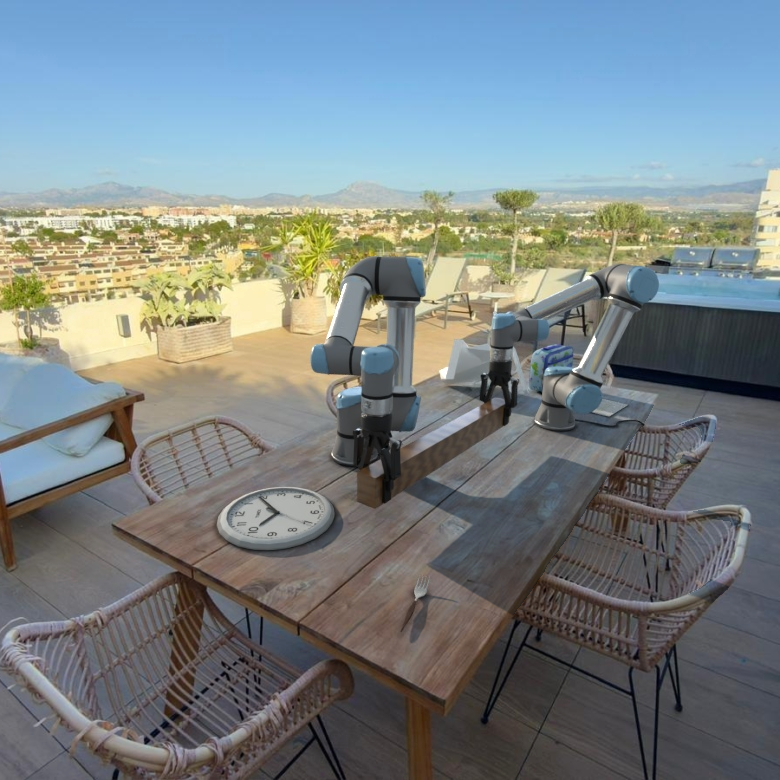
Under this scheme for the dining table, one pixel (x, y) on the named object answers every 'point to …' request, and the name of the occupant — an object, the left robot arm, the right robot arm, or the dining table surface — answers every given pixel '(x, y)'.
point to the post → (432, 451)
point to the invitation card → (609, 407)
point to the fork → (418, 593)
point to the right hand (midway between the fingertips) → (496, 422)
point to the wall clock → (275, 518)
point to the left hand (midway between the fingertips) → (376, 496)
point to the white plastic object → (474, 364)
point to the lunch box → (548, 363)
